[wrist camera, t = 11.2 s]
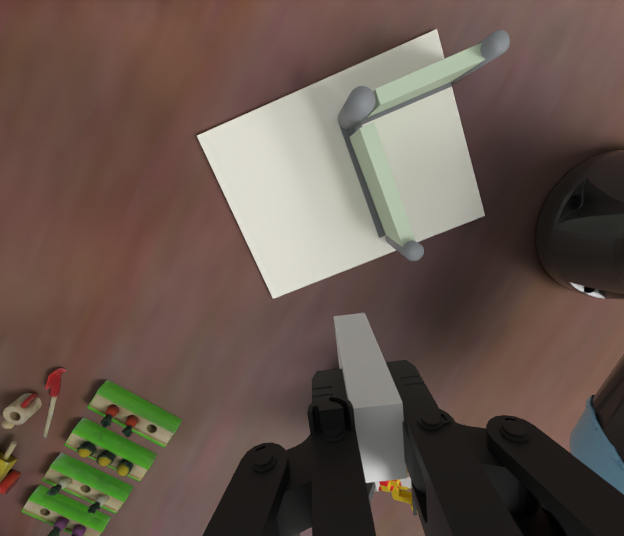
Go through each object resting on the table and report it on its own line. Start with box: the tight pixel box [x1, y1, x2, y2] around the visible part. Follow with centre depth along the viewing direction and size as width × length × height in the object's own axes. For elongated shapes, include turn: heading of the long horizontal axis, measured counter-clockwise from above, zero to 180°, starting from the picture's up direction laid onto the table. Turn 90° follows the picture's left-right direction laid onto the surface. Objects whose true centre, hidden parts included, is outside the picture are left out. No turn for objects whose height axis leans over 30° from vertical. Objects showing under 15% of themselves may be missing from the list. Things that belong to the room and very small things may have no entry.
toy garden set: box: [0, 368, 182, 536], centre depth 39 cm, size 23×19×5 cm
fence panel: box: [349, 122, 424, 261], centre depth 30 cm, size 12×2×7 cm, turn 23°
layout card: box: [197, 29, 485, 299], centre depth 33 cm, size 24×18×1 cm
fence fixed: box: [338, 30, 510, 130], centre depth 28 cm, size 12×2×8 cm, turn 112°
